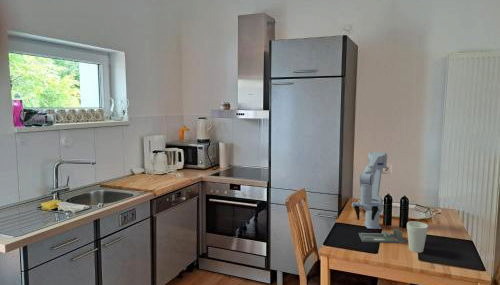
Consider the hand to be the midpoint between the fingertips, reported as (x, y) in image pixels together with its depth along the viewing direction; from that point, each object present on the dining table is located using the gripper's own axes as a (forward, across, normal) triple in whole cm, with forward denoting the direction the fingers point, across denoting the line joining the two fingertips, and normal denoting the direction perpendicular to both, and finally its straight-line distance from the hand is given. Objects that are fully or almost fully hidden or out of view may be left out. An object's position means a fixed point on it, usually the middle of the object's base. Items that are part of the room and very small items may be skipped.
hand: (365, 219), depth 188 cm
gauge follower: (+8, +10, -4) cm, 14 cm away
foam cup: (+10, +21, -16) cm, 28 cm away
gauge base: (+9, +8, -3) cm, 13 cm away
